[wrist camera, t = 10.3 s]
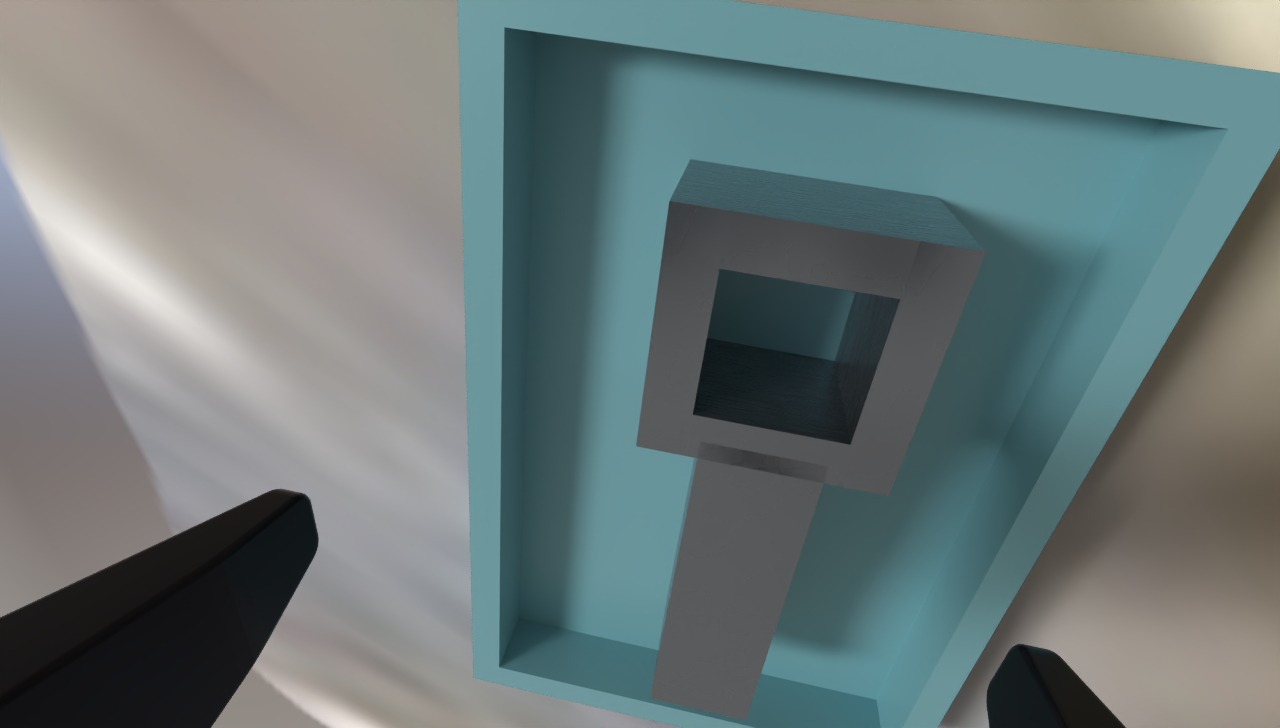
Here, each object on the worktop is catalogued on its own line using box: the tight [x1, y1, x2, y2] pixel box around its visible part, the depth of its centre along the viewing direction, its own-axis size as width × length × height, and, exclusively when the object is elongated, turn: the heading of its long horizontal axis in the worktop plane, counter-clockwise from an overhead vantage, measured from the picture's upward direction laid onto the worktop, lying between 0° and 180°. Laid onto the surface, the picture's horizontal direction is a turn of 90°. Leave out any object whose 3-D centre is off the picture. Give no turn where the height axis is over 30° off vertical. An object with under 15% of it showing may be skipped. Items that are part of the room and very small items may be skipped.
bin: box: [458, 0, 1280, 728], centre depth 19 cm, size 16×23×3 cm
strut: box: [636, 159, 986, 720], centre depth 18 cm, size 16×6×4 cm, turn 173°
